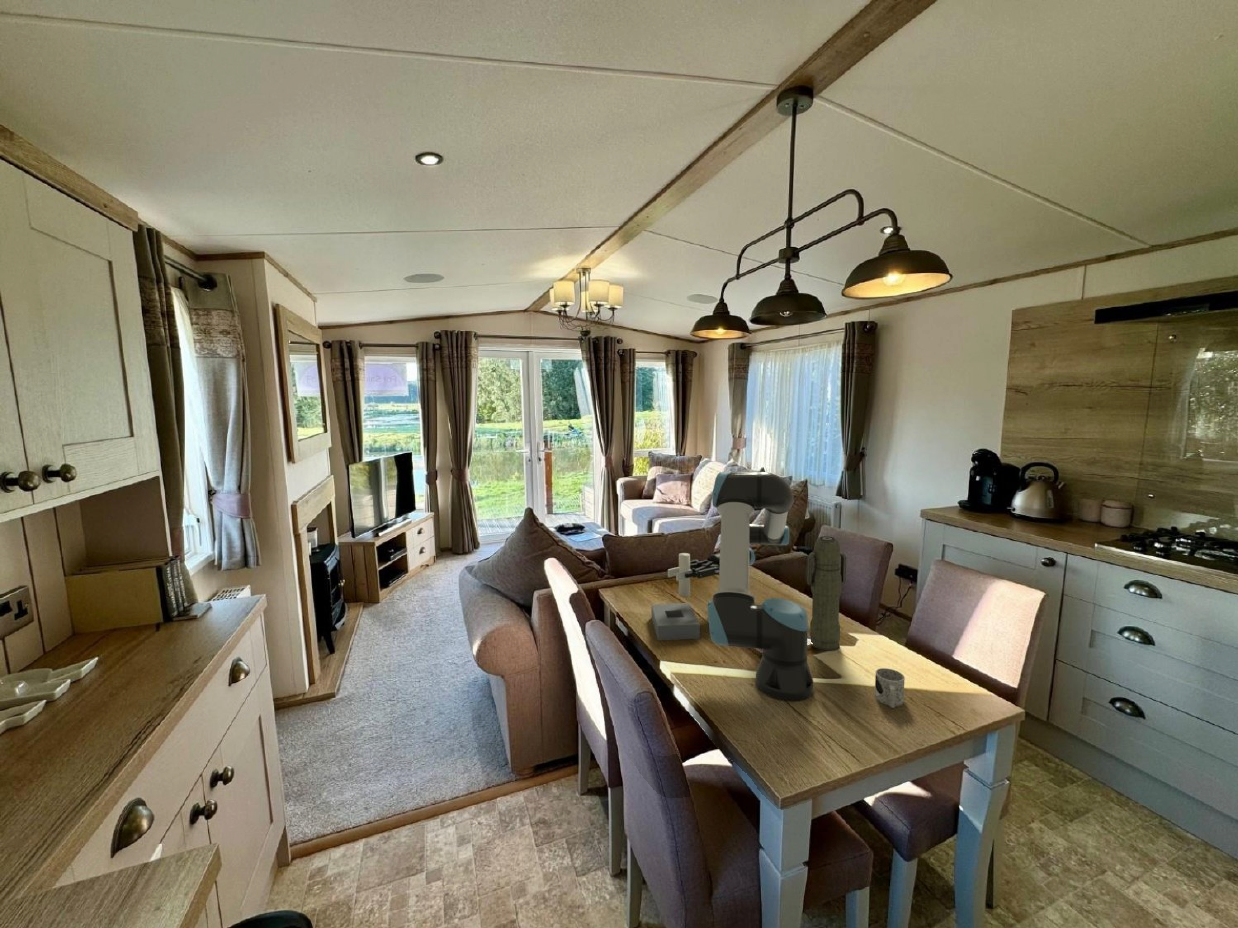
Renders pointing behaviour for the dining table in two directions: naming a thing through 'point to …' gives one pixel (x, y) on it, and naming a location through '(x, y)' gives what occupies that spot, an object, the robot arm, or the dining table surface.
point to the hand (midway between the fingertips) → (672, 575)
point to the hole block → (675, 621)
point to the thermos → (826, 592)
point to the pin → (683, 566)
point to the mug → (889, 687)
